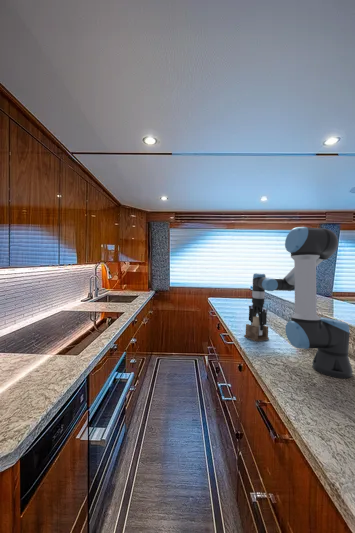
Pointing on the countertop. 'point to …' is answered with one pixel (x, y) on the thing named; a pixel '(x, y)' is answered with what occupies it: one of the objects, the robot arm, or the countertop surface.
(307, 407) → the countertop surface
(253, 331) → the holder
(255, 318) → the beige rectangular block
